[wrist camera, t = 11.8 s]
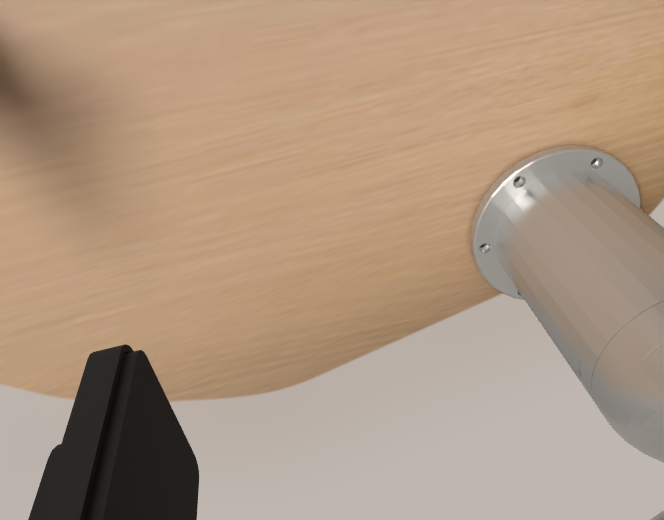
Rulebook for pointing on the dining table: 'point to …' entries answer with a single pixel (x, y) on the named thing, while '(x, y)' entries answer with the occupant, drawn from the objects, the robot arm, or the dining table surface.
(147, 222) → the dining table surface
